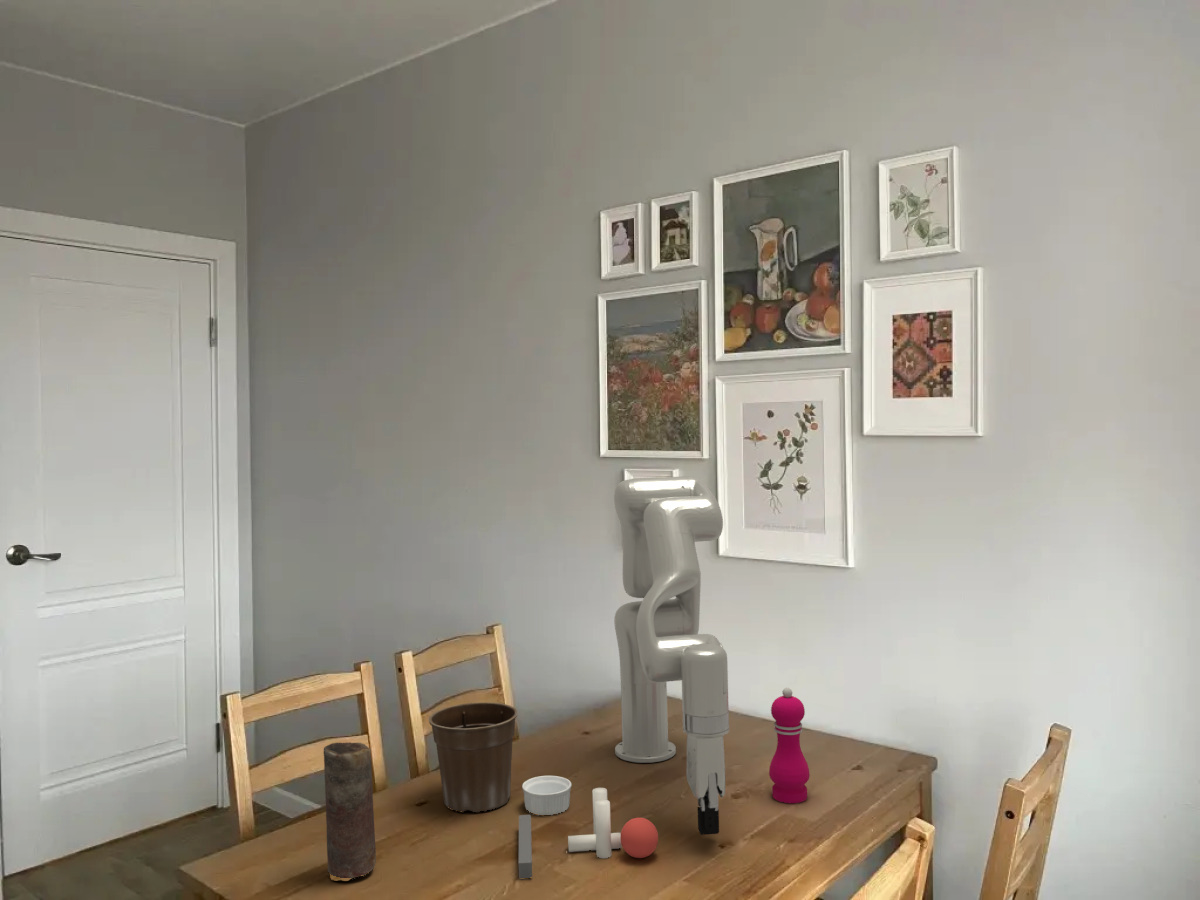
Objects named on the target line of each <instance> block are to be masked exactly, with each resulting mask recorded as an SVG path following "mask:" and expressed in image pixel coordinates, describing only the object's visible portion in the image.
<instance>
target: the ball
mask: <svg viewBox="0 0 1200 900" xmlns="http://www.w3.org/2000/svg"><path fill="white" fill-rule="evenodd" d="M620 833H621V837H620V838H621V844H622V847H621V848H623V850H624V852H626V853H627V854H628V855H629V856H631V857H632V858H636V859H644V858H647V857H648V856H650V855H652V854H653V853H654V851H655V850H656V849H657V846H658V843H659V834H658V833H659V832H658V830H657V828H656V826H655V825H654V824H653V822H651V820H649V819H647V818H644V817H635V818H631V819H629V820H628V821H627V822H626V823H624V825H623V827H622V829H621V831H620Z"/></svg>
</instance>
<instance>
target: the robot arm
mask: <svg viewBox="0 0 1200 900" xmlns="http://www.w3.org/2000/svg"><path fill="white" fill-rule="evenodd" d="M613 498H614V499H613V500H614V508H615V510H616V515H617V517H618V521H619V523H620V525H621V530H622V583H623V584H622V585H623V590H624V591H625V593H626V594H627V595H628V596H629V597H632V598H636V599H642V600H638V601H631V602H626V603H625V604H622V605H621V606H620V607H618V608H617V610H616V612H615V614H614V630H615V636H616V641H617V647H618V657H619V669H620V670H619V671H620V696H621V697H620V703H621V705H620V706H621V707H620V708H621V736H622V739H621V740H622V741H621V742H619V743H618V744H616V745H615V748H614V754H615V755H616V757H618V759H619V758H620V759H621V760H623V761H626V762H629V763H630V762H632V763H640V764H641V763H642V764H644V763H645V764H649V763H659V762H663V761H667V760H669V759H671V758H672V757H674V756H675V755H676V753H677V750H676V749H677V747H676V745H675V744H674V743H673V742H671V741H669V731H668V729H669V725H668V723H669V722H668V721H669V720H668V690H667V689H668V688H667V687H668V686H667V683H668V682H680V681H681V700H682V701H681V704H682V705H681V706H682V707H681V708H682V731H683V733H684V734H686V771H685V772H686V782H687V783H688V786H689V788H690V791H691V793H692V794H693V796H694V798H695V799H696V800H697V830H698V832H699V834H700V835H701V836H706V835H708V836H709V835H718V834H719V833H720V814H719V812H720V811H719V797H720V798H723V797H724V796H725V794H726V763H725V762H726V760H725V746H724V736H725V735H727V734H728V733H729V732H730V718H729V717H730V715H729V710H730V709H729V675H728V674H729V673H728V672H729V671H728V655H727V651H726V649H725V648H724V647H723V644H722V642H720V641H719V639H718V638H717V637H716V636H715V635H713V634H709V633H699V629H700V614H701V613H700V610H701V609H700V608H701V583H702V581H701V579H702V578H701V576H702V575H701V569H700V564H699V559H698V553H697V549H696V543H697V542H712V541H713V542H714V541H716V540H717V539H719V538H720V536H721V534H722V532H723V530H724V529H723V527H724V519H723V513H722V510H721V507H720V505H719V502H718V500H717V498H716V497H715V495H714V493H712V492H711V490H710V488H708V486H707V485H706V484H705V483H704V482H703V481H702V480H701V478H698V477H695V476H667V477H665V476H664V477H663V476H660V477H658V476H657V477H656V476H654V477H638V478H629V479H624V480H623V481H621V482H619V483H618V484H617V485H616V486H615V489H614V495H613ZM695 542H696V543H695ZM672 598H673V599H672Z"/></svg>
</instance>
